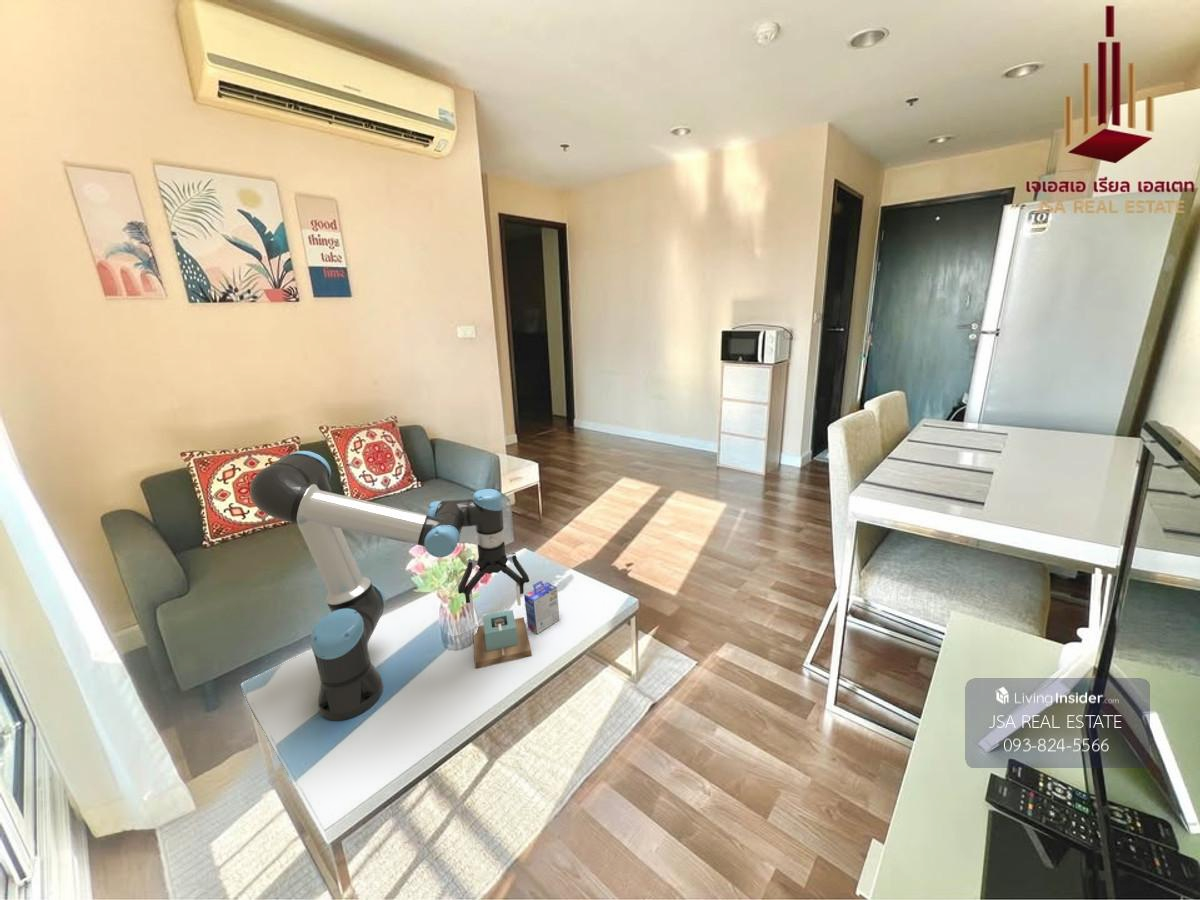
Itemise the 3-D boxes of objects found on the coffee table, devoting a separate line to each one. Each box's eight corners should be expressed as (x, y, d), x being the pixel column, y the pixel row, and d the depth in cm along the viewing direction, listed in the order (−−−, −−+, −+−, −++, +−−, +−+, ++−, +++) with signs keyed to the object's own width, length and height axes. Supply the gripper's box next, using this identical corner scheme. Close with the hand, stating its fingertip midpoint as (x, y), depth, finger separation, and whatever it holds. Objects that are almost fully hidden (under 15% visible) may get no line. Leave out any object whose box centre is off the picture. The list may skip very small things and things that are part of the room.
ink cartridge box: (549, 612, 155) (546, 574, 151) (560, 619, 152) (558, 581, 148) (526, 627, 149) (522, 588, 144) (537, 634, 145) (533, 594, 141)
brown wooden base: (475, 668, 132) (472, 645, 129) (473, 632, 146) (470, 611, 144) (531, 655, 136) (529, 632, 134) (524, 622, 151) (522, 601, 149)
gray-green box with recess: (486, 651, 135) (484, 633, 133) (485, 632, 144) (483, 614, 142) (517, 645, 138) (516, 626, 136) (514, 626, 146) (512, 608, 144)
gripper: (444, 555, 124) (452, 622, 130) (536, 542, 131) (539, 606, 137) (445, 542, 131) (452, 607, 137) (532, 531, 138) (535, 592, 144)
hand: (495, 607), depth 137 cm, fingers open, 13 cm apart
